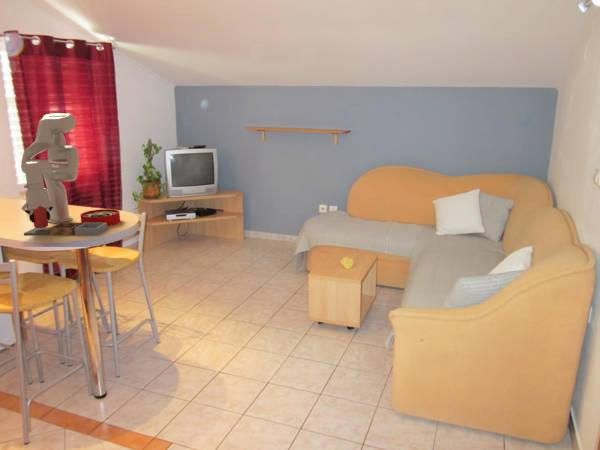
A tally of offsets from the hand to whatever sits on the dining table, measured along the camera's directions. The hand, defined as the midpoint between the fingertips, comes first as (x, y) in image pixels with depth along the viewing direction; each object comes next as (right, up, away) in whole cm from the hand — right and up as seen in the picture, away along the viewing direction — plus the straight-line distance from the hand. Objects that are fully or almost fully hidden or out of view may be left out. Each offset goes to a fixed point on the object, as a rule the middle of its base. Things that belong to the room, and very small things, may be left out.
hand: (40, 220), depth 262 cm
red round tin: (+24, -2, +19) cm, 31 cm away
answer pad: (0, -6, +2) cm, 6 cm away
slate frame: (+26, -6, 0) cm, 27 cm away
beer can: (0, -3, +1) cm, 3 cm away
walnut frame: (+13, -6, +1) cm, 14 cm away
